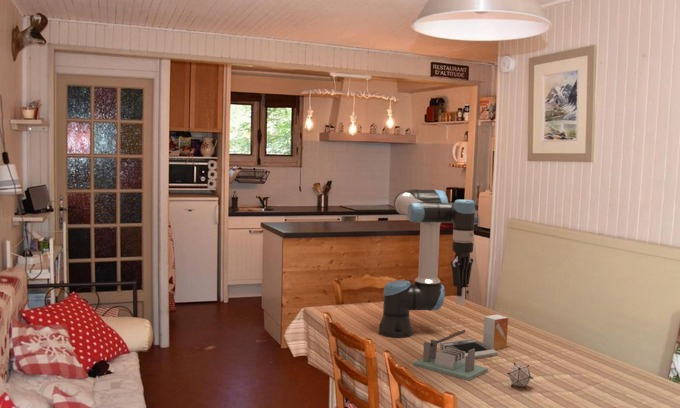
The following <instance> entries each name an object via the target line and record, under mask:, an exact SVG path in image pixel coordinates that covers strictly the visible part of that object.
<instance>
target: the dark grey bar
mask: <svg viewBox="0 0 680 408" xmlns="http://www.w3.org/2000/svg"><path fill="white" fill-rule="evenodd" d="M463 334H466V329H463V330H461V331H459V330H457V331H455V332H452V333H449V334H448V336H446V337H443V338H441V339H437V341H436V342H433V343H431V342H430V343H431V346H434V345H436V344H437V345H439V344H440V343H441V342H447V340H448V341H449V340H451V339H453V338H456V337H458V336H460V335H463Z"/></svg>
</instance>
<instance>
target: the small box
mask: <svg viewBox="0 0 680 408" xmlns="http://www.w3.org/2000/svg"><path fill="white" fill-rule="evenodd" d="M483 319H484V320H483V335H482V336H483V337H482V343H483V344H485V345H486V346H488V347H490V348H491V349H494V350H495V351H496V350H500V349H506V348H507V346H508V345H507V343H508V341H507V340H508V327H509V326H508V325H509V317H507V316H504V315H500V314H492V315H491V314H490V315H486V316H484V317H483Z"/></svg>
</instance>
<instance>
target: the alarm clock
mask: <svg viewBox="0 0 680 408" xmlns="http://www.w3.org/2000/svg"><path fill="white" fill-rule="evenodd" d="M447 347H448V348H452V349H456V350H460V351H464V352H465V357H466V356H467V355H468V351H469V350H471V349H475V360H479V358H480V359H485V357H487V358H492V357H497V356H498V351H497V350H496V349H495V350H494V349H491V348H490V347H488V346H486V345H485V344H483V342H480V341H478V340H476V339H475V338H474V337H473V338H464V339H457V340H450V341H449V340H448V341H443V342H441V343H439V351H440V350H443V349H446V348H447ZM496 355H497V356H496Z"/></svg>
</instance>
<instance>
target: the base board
mask: <svg viewBox="0 0 680 408" xmlns="http://www.w3.org/2000/svg"><path fill="white" fill-rule="evenodd" d="M436 341H438V339H437V340H436V339H433V338H432V339H430V342H428V341H424V342H423V356H422V357H423V358H421V359H418V360H415V361H413V363H412V365H413V366H414V367H419V368H423V369H426V370H429V371H432V372H437V373H440V374H444V375H448V376H452V377H454V378H459V379H463V380H466V381H471V380H473V379H475V378H477V377H479V376H481V375H483V374H485V373H487V372H488V371H489V368H488V367H484V366H481V365H477V364H475V360H476V359H475V349H471V350H469V351H468V355H467V356H466V357H465V365H464V366H462V367H460V368H458V369H455V370H450V369H446V368H442V367H439V366H435V358H436V351H438V344H436V345H434V346H431V343H433V342H436Z"/></svg>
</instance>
